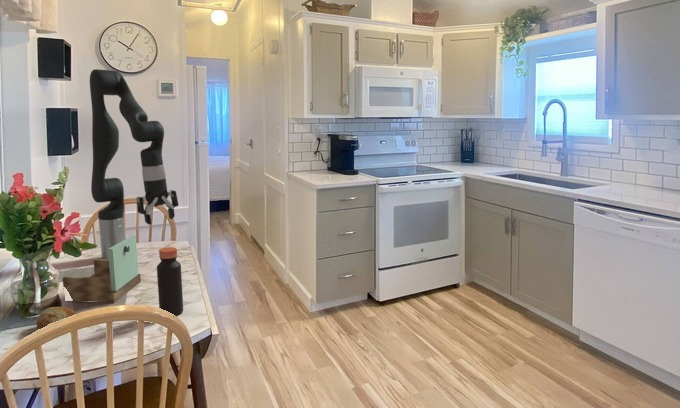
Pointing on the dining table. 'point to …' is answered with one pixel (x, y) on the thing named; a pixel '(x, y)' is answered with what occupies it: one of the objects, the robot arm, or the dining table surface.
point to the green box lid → (123, 262)
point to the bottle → (170, 281)
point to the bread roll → (53, 316)
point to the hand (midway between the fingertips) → (160, 221)
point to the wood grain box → (97, 285)
